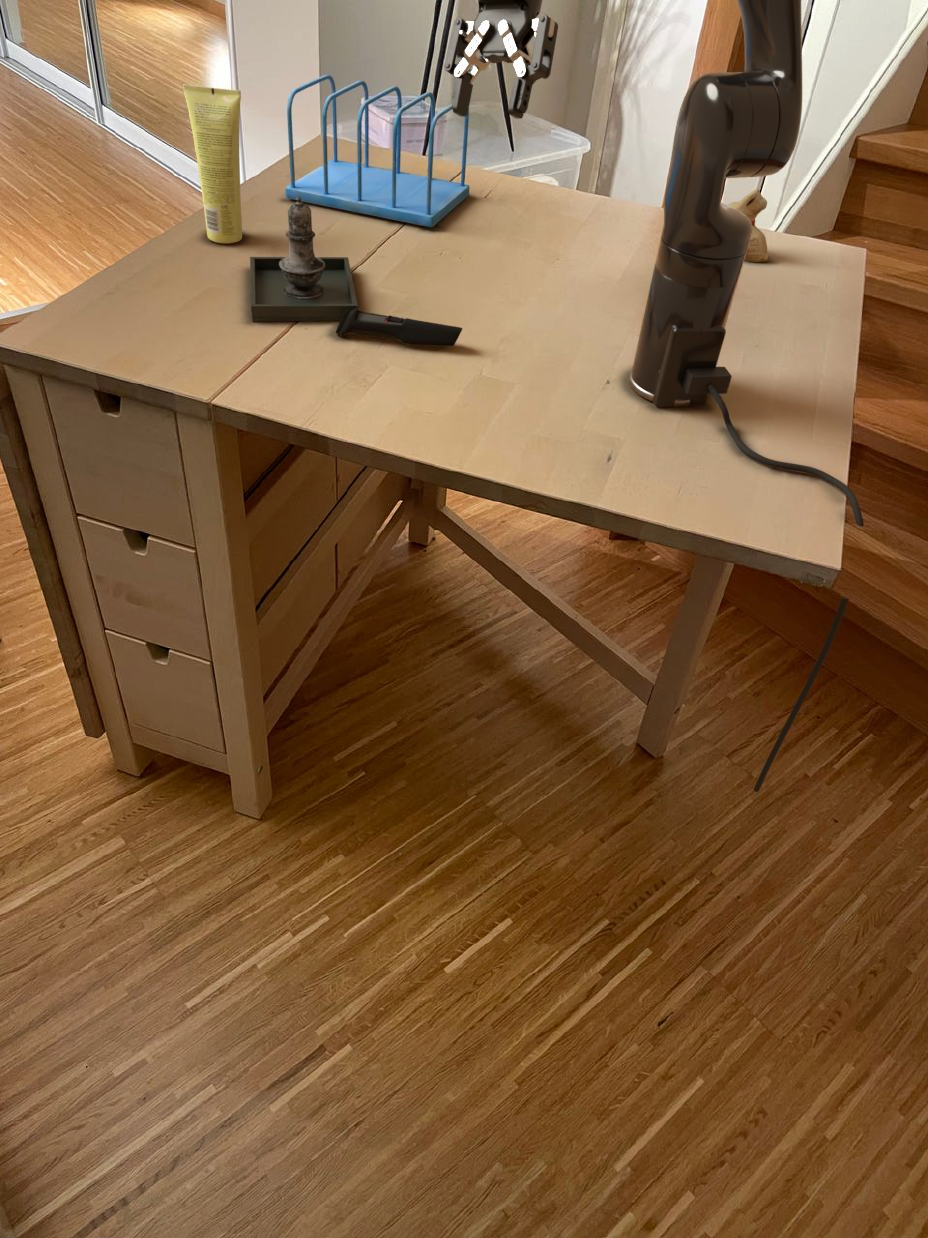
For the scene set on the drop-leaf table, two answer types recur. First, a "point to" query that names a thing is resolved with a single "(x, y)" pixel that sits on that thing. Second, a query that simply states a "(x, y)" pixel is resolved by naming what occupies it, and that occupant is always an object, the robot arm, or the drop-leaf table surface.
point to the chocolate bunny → (751, 209)
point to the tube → (217, 157)
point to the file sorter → (376, 170)
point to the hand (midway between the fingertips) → (486, 115)
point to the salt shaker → (301, 255)
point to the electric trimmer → (397, 329)
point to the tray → (280, 307)
